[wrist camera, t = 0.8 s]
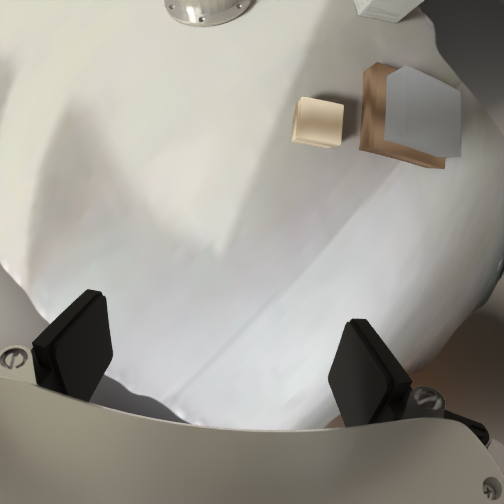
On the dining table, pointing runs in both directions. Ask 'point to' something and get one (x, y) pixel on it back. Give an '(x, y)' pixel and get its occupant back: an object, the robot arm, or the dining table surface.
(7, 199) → the dining table surface
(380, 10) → the supplement box
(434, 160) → the base block
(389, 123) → the top block
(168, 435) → the robot arm
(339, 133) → the ash cube
